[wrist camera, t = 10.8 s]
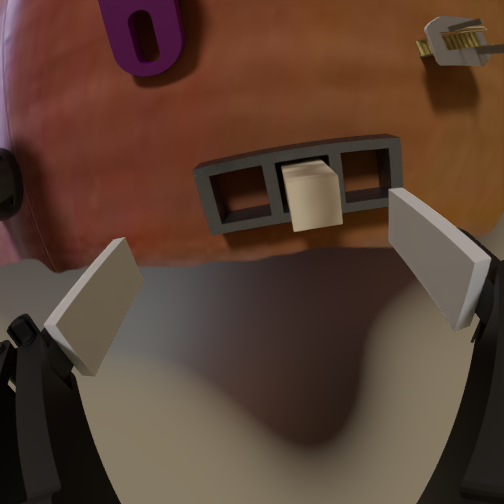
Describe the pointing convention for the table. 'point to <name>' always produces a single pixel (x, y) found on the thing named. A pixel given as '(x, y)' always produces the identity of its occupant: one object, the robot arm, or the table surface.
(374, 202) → the dark grey long frame
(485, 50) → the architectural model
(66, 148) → the table surface
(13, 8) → the table surface
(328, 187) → the peg
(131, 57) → the mounting bracket
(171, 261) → the table surface
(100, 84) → the table surface
